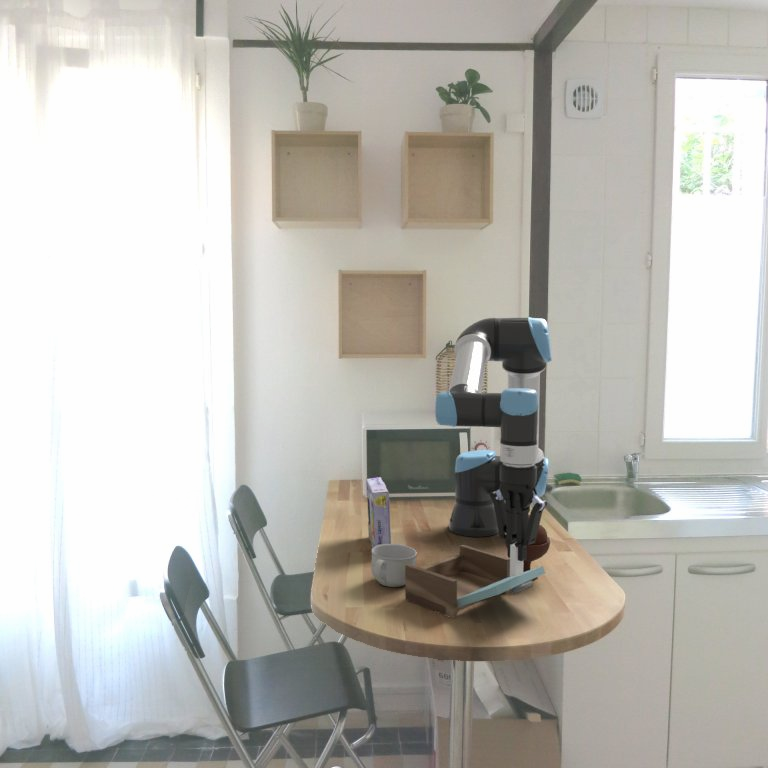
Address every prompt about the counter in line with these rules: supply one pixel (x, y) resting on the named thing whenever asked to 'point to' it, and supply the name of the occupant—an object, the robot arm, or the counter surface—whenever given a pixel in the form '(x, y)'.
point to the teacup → (391, 563)
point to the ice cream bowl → (536, 548)
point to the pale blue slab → (502, 586)
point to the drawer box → (454, 579)
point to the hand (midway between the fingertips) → (516, 574)
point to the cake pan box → (378, 512)
